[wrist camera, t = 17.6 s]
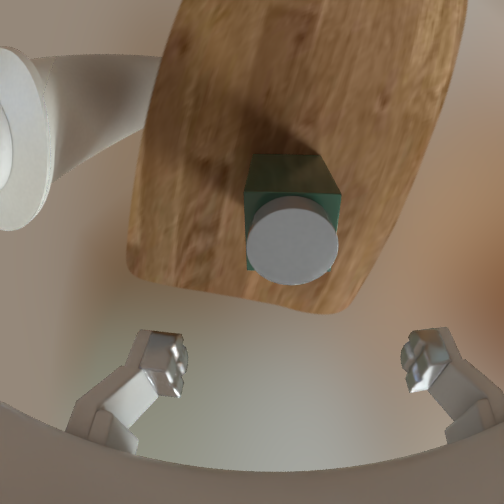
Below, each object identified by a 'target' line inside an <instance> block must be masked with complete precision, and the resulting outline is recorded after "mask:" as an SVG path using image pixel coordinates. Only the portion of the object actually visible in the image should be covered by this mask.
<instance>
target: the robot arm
mask: <svg viewBox="0 0 504 504" xmlns="http://www.w3.org/2000/svg"><path fill="white" fill-rule="evenodd" d="M11 167H12V139H11V132H10V127H9V124H8V120H7V117H6V115H5V112H4V110H3V108H2V105H1V102H0V190H1V189H2V188H3V187H4V186H5V184H6V183H7V181H8V178H9V175H10V172H11ZM408 338H409V342H407V343H406V344H405V345H404V346H403V348H402V350H401V364H402V368H403V369H404V370H405V371H406V372H407V375H406V382H407V385H408V388H409V392H416V391H423V390H428V392H429V393H430V394H431V395H432V396H433V397H434V399H435V400H436V401H437V402H438V403H439V404H440V405H441V406H442V408H443V409H444V410H445V411H446V412H447V414H448V415H449V416H450V417H451V418H452V419H453V421H454V422H453V423H452V424H451V425H450V426H448V427H447V428H446V430H445V435H446V439H447V445H444V446H441V447H438V448H435V449H431V450H428V451H424V452H421V453H417V454H413V455H409V456H406V457H401V458H397V459H393V460H387V461H383V462H378V463H372V464H366V465H359V466H353V467H346V468H336V469H328V470H327V469H326V470H315V471H295V472H254V471H235V470H223V469H213V468H204V467H197V466H190V465H183V464H177V463H171V462H166V461H161V460H156V459H152V458H147V457H143V456H139V455H136V451H137V446H138V442H139V440H138V438H137V437H136V436H135V435H134V434H133V433H132V432H131V431H130V430H129V429H128V428H129V427H130V426H131V425H132V424H133V423H134V422H135V421H136V420H137V419H138V418H139V417H140V416H141V415H142V414H143V413H144V412H145V410H146V409H147V408H148V407H149V406H150V405H151V404H152V403H153V402H154V401H155V400H156V399H157V398H158V395H161V396H168V397H177V398H180V397H181V393H182V388H183V384H184V381H183V379H182V375H183V374H185V373H186V371H187V366H188V352H187V349H186V347H185V346H184V345H183V341H184V339H183V337H182V334H176V333H168V332H159V331H150V330H140V331H139V332H138V333H137V335H136V338H135V340H134V343H133V345H132V348H131V351H130V353H129V356H128V358H127V361H126V364H125V366H120V367H119V368H117V369H116V370H115V371H114V372H112V373H111V374H110V375H109V376H107V377H106V378H105V379H104V380H103V381H101V382H100V383H98V384H97V385H96V386H95V387H94V388H92V389H91V390H90V391H88V392H87V393H86V394H85V395H83V396H82V397H81V398H80V399H78V400H77V401H76V404H75V406H74V409H73V411H72V414H71V417H70V420H69V422H68V425H67V428H66V431H65V432H64V431H62V430H59V429H57V428H55V427H52V426H50V425H48V424H46V423H43V422H41V421H39V420H37V419H35V418H33V417H31V416H29V415H27V414H25V413H23V412H21V411H19V410H17V409H15V408H13V407H12V406H10V405H8V404H6V403H4V402H1V401H0V504H504V394H503V391H502V390H501V389H500V388H499V387H497V386H496V385H495V384H494V383H493V382H491V381H490V380H489V379H488V378H487V377H486V376H485V375H483V374H482V373H481V372H480V371H479V370H477V369H476V368H475V367H474V366H473V365H472V364H470V363H469V362H468V361H467V360H462V357H461V355H460V353H459V350H458V348H457V346H456V344H455V341H454V339H453V337H452V335H451V333H450V331H449V329H448V328H447V327H441V328H431V329H423V330H415V331H412V332H411V333H410V335H409V337H408Z"/></svg>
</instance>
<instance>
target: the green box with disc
mask: <svg viewBox="0 0 504 504" xmlns="http://www.w3.org/2000/svg"><path fill="white" fill-rule="evenodd" d="M340 204H341V192H340V191H339V189H338V187H337V185H336V183H335V181H334V179H333V177H332V175H331V173H330V172H329V170H328V168H327V166H326V164H325V162H324V161H323V159H322V157H321V156H318V155H291V154H253V156H252V160H251V164H250V168H249V172H248V176H247V180H246V185H245V189H244V213H245V236H246V259H247V270H256V272H257V273H259V274H260V275H261V276H262V277H264V278H266V279H267V280H269V281H272V282H274V283H278V284H283V285H299V284H304V283H308V282H310V281H313V280H315V279H317V278H319V277H320V276H322V275H323V274H324V273H325V272H330V271H331V266H332V264H333V262H334V261H335V258H336V256H337V252H338V238H337V226H338V219H339V212H340Z"/></svg>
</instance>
